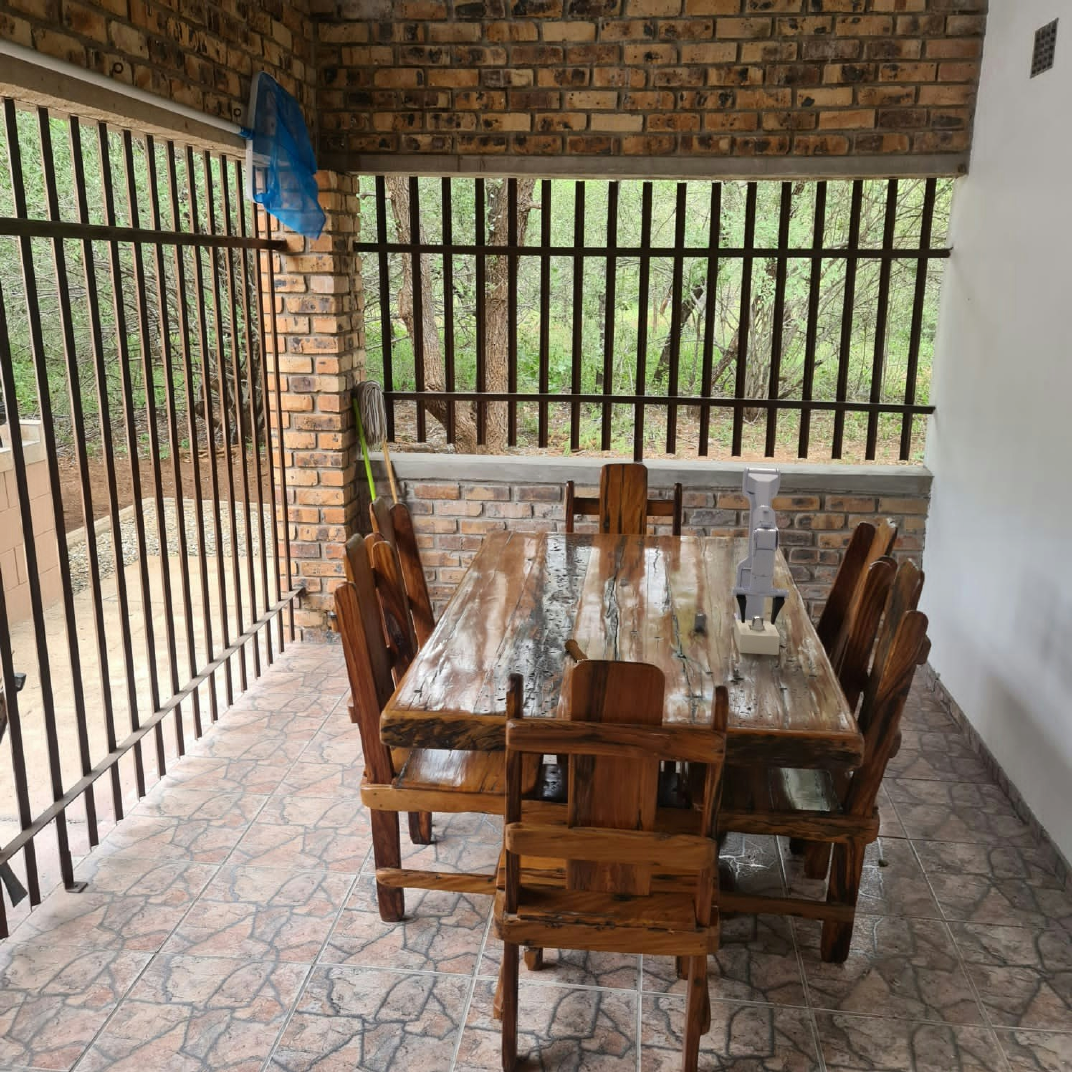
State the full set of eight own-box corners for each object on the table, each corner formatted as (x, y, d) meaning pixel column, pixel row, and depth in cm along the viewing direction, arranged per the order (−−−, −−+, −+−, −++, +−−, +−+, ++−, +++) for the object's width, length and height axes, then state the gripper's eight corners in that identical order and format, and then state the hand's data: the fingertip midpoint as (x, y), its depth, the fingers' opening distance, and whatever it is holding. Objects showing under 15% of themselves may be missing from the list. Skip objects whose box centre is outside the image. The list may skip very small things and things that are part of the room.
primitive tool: (605, 677, 232) (605, 664, 231) (584, 680, 230) (584, 666, 229) (576, 650, 249) (576, 637, 248) (556, 652, 247) (557, 639, 247)
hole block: (733, 636, 261) (735, 619, 260) (771, 638, 260) (772, 621, 259) (739, 652, 249) (740, 634, 248) (778, 654, 248) (780, 636, 247)
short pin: (693, 627, 267) (694, 612, 266) (704, 628, 267) (705, 613, 266) (694, 631, 264) (695, 616, 263) (705, 632, 264) (706, 616, 263)
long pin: (748, 643, 256) (751, 615, 254) (760, 644, 256) (762, 615, 254) (750, 647, 253) (753, 618, 251) (761, 648, 253) (764, 619, 251)
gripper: (735, 576, 246) (731, 626, 250) (793, 579, 245) (788, 629, 249) (732, 568, 253) (728, 617, 257) (788, 571, 252) (783, 620, 255)
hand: (757, 622), depth 253 cm, fingers open, 7 cm apart
